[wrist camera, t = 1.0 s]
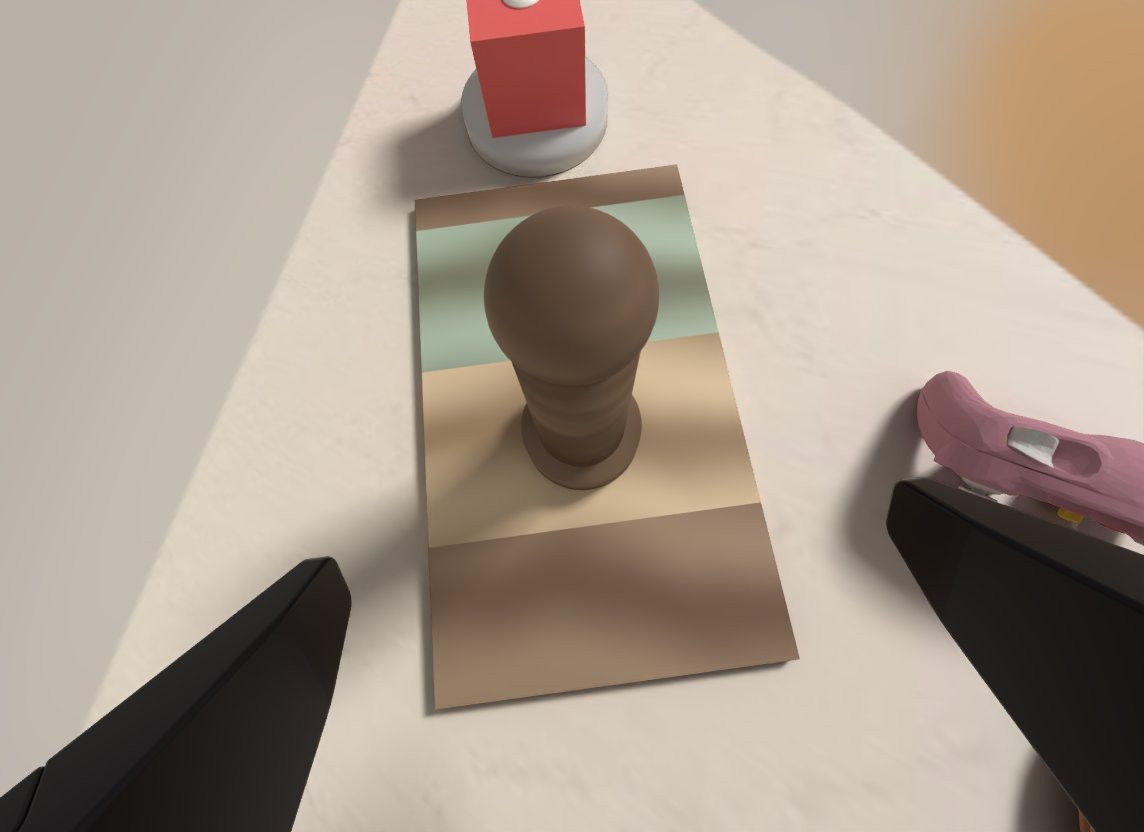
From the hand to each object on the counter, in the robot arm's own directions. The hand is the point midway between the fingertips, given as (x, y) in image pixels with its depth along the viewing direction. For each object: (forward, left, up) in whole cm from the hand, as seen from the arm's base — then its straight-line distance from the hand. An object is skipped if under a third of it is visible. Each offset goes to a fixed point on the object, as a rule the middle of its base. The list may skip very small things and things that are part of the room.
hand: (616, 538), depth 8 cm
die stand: (+23, +8, -14) cm, 28 cm away
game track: (+7, +2, -14) cm, 16 cm away
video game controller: (+7, -17, -14) cm, 23 cm away
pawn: (+5, +2, -13) cm, 14 cm away
